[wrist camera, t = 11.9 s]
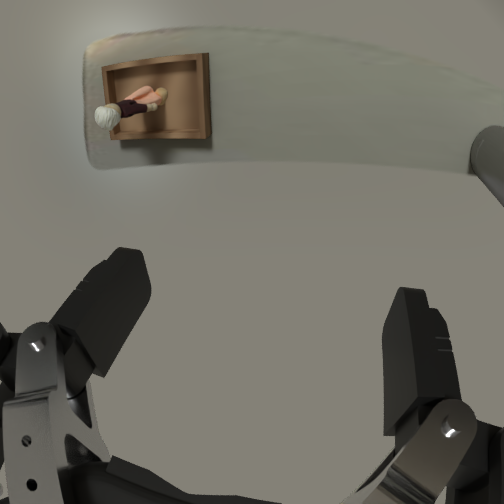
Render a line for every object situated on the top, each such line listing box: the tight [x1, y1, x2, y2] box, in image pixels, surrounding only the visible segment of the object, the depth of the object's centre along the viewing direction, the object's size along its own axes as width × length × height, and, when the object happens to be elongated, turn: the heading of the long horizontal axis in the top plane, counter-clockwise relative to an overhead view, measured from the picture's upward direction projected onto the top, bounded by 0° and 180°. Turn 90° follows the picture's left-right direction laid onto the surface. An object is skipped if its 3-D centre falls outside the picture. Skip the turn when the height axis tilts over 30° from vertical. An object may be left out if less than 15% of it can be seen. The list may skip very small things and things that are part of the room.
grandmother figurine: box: [95, 86, 168, 131], centre depth 36 cm, size 8×4×13 cm, turn 99°
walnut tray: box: [102, 53, 212, 140], centre depth 40 cm, size 16×12×2 cm
